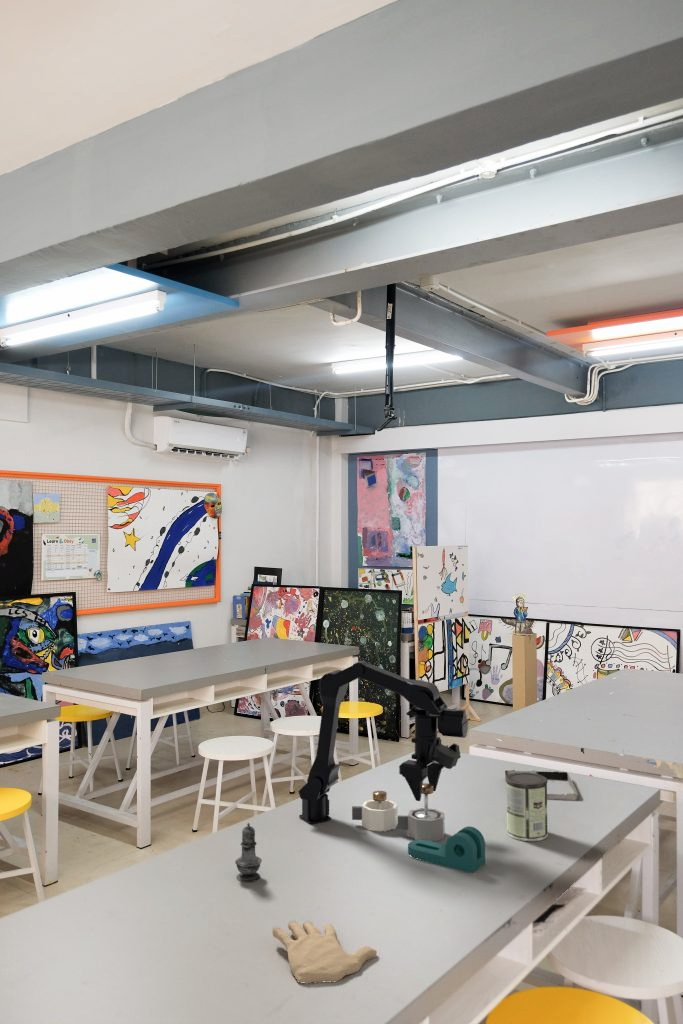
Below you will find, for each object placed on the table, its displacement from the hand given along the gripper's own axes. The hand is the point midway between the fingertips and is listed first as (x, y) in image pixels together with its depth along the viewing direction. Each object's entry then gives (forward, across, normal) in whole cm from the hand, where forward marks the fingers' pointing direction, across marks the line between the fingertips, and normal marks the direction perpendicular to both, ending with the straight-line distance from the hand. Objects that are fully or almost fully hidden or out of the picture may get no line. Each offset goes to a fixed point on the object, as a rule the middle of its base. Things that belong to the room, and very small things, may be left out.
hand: (425, 795), depth 209 cm
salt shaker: (+10, -43, +23) cm, 50 cm away
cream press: (+10, 0, +13) cm, 17 cm away
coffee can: (+10, +14, -22) cm, 28 cm away
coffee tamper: (+5, 0, 0) cm, 5 cm away
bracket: (+10, -12, -10) cm, 19 cm away
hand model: (+10, -62, -9) cm, 64 cm away
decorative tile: (+10, +52, -13) cm, 54 cm away
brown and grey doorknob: (+9, 0, +13) cm, 16 cm away
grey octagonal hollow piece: (+10, 0, 0) cm, 10 cm away
